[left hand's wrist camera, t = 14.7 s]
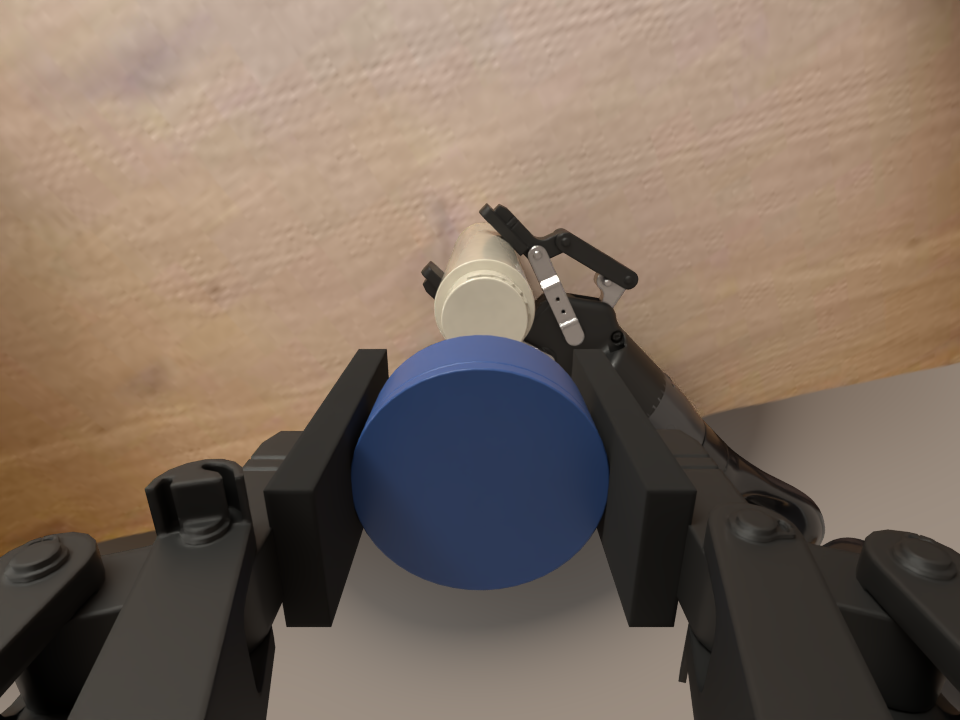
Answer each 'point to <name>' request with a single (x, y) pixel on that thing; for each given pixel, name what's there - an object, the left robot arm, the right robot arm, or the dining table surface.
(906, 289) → the dining table surface
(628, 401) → the left robot arm
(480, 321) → the jar
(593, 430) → the lid
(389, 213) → the dining table surface
